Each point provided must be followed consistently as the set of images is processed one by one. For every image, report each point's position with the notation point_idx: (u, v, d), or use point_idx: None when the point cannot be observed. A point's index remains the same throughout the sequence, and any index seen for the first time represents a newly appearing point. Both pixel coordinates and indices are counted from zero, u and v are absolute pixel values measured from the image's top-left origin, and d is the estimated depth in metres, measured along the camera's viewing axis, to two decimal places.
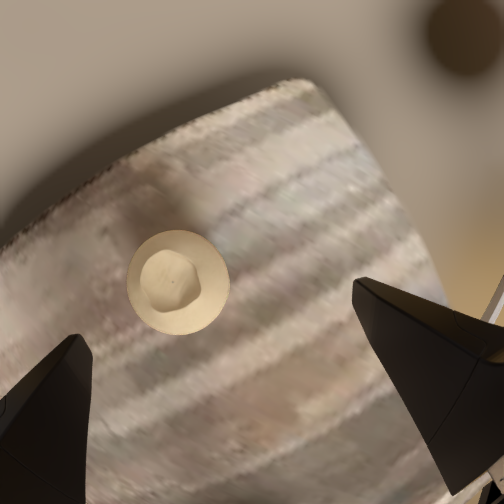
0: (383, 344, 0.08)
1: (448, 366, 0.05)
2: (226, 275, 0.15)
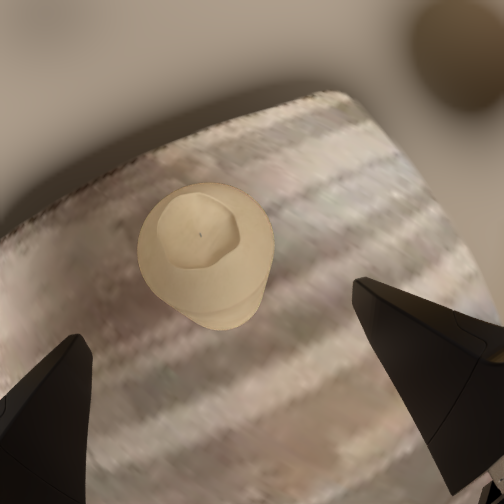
0: (383, 344, 0.08)
1: (448, 366, 0.05)
2: (271, 236, 0.12)
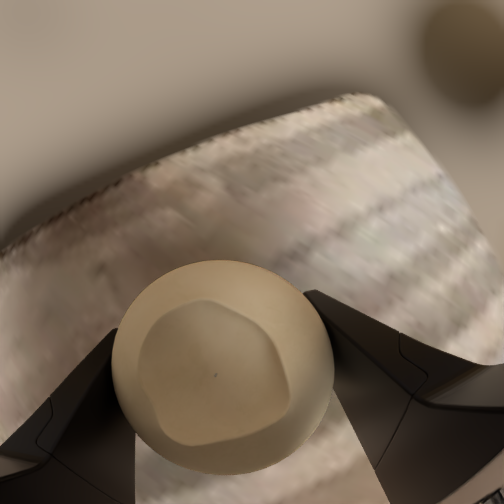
0: None
1: (385, 395, 0.05)
2: (331, 359, 0.07)
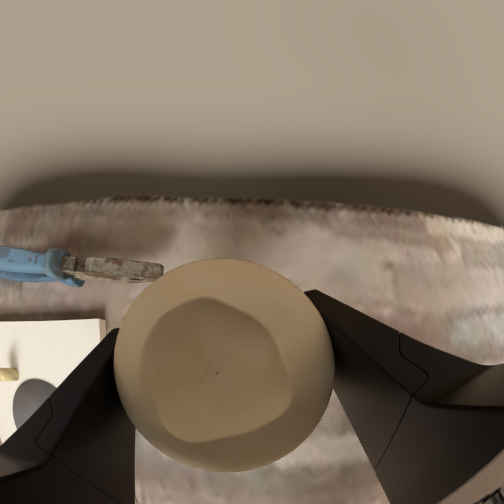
0: None
1: (385, 395, 0.05)
2: (331, 357, 0.07)
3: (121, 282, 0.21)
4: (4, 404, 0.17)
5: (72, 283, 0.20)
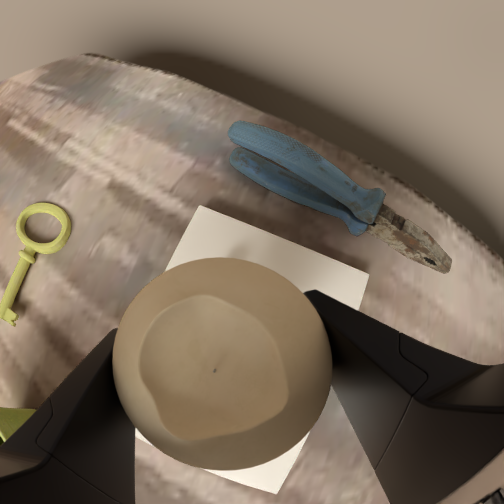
0: None
1: (385, 396, 0.05)
2: (329, 355, 0.07)
3: (404, 255, 0.21)
4: None
5: (362, 229, 0.21)
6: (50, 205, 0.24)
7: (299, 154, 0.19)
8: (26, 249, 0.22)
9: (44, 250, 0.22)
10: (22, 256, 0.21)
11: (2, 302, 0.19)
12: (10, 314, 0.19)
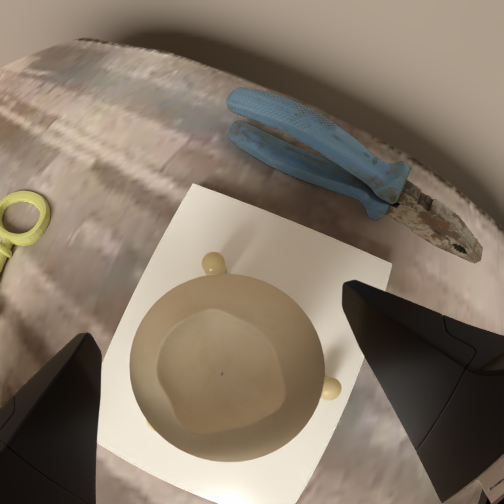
0: (372, 348, 0.08)
1: (436, 372, 0.05)
2: (322, 360, 0.08)
3: (430, 242, 0.18)
4: None
5: (383, 211, 0.18)
6: (29, 193, 0.20)
7: (309, 120, 0.16)
8: (2, 241, 0.18)
9: (21, 241, 0.18)
10: None
11: None
12: None
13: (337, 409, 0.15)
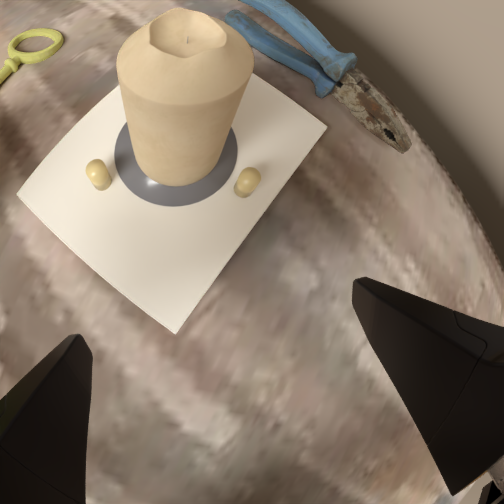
0: (383, 344, 0.08)
1: (449, 366, 0.05)
2: (252, 65, 0.10)
3: (365, 126, 0.21)
4: None
5: (328, 88, 0.20)
6: (47, 29, 0.17)
7: (288, 9, 0.17)
8: (13, 58, 0.16)
9: (31, 57, 0.16)
10: (8, 62, 0.15)
11: None
12: None
13: (253, 216, 0.18)
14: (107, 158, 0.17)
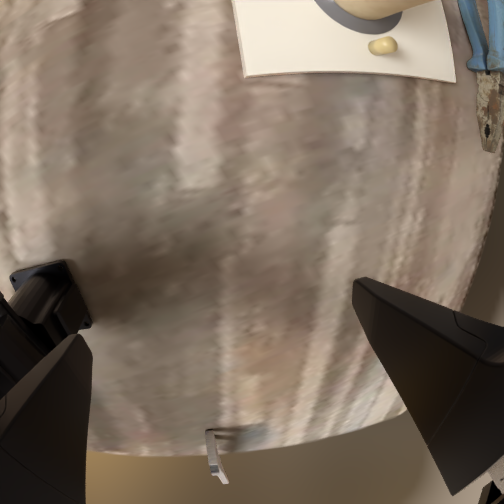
0: (383, 344, 0.08)
1: (448, 366, 0.05)
2: None
3: (477, 110, 0.18)
4: None
5: (479, 67, 0.16)
6: None
7: (503, 7, 0.10)
8: None
9: None
10: None
11: None
12: None
13: (365, 66, 0.17)
14: None
